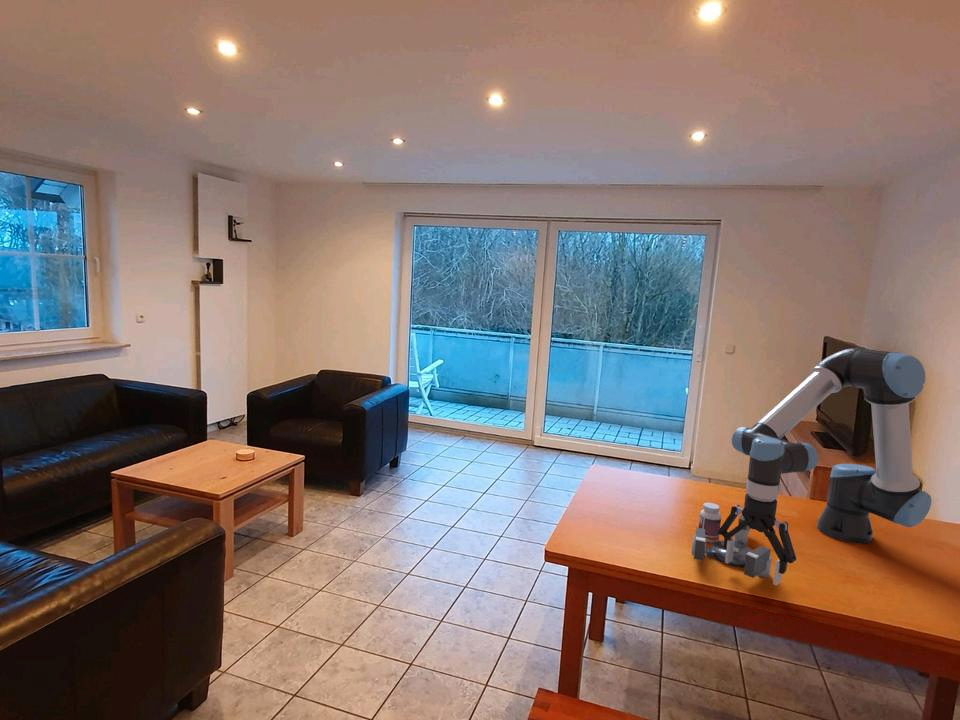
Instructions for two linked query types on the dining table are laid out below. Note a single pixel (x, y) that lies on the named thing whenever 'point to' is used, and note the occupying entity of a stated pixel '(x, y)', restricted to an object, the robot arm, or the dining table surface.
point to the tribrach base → (720, 553)
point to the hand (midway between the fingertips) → (751, 572)
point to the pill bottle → (710, 521)
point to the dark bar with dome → (699, 544)
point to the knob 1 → (742, 533)
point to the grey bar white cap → (758, 563)
